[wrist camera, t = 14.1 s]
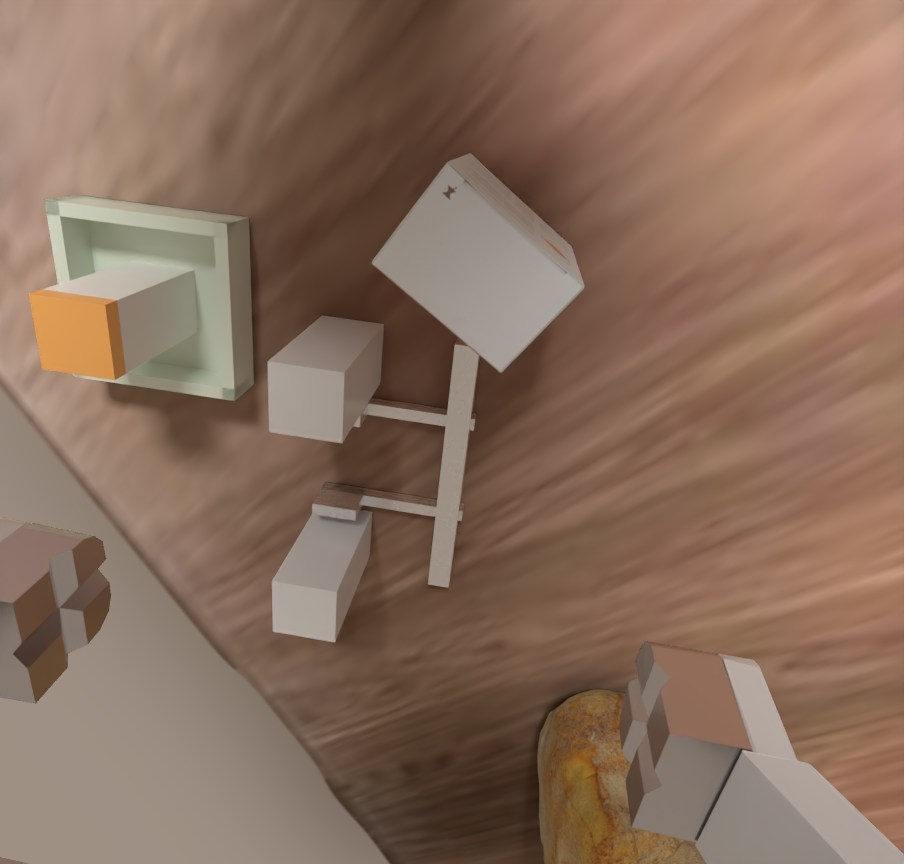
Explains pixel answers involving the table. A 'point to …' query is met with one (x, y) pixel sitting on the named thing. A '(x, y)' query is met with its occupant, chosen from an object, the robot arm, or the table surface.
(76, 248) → the tray
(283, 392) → the block
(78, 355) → the block
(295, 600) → the block
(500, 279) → the small box
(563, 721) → the rough brown rock
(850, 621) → the table surface
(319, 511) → the rail
